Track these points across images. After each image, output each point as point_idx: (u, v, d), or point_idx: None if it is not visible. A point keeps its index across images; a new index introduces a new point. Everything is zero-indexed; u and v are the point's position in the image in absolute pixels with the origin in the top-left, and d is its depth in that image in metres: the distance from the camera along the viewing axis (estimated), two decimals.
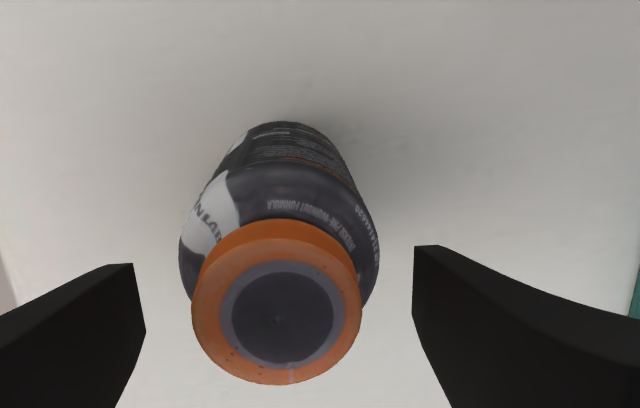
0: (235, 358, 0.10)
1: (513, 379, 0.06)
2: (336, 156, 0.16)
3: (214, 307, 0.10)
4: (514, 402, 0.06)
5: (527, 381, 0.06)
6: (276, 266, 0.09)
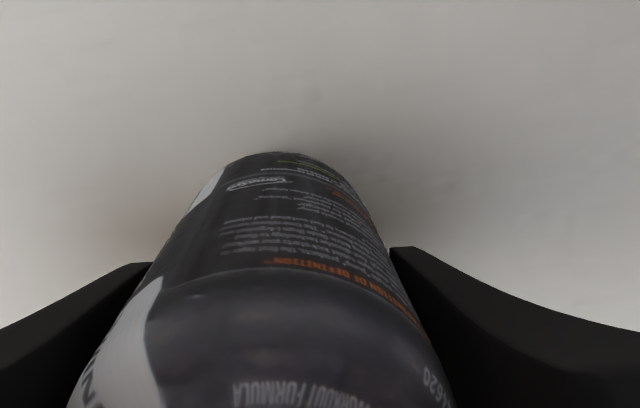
0: None
1: (472, 382, 0.06)
2: (362, 218, 0.10)
3: None
4: (473, 405, 0.06)
5: (483, 385, 0.06)
6: None
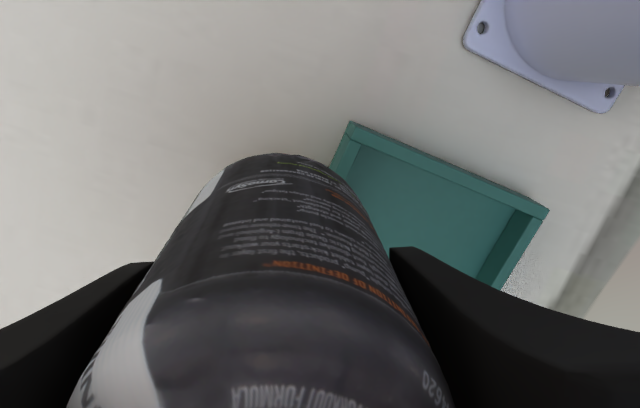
0: None
1: (472, 382, 0.06)
2: (361, 220, 0.10)
3: None
4: (472, 405, 0.06)
5: (483, 385, 0.06)
6: None
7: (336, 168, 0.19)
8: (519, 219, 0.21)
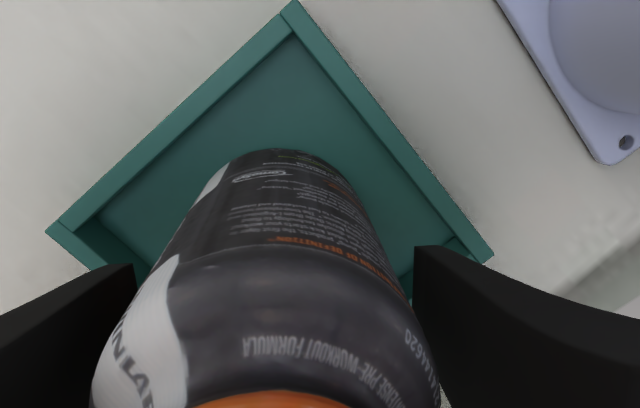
0: None
1: (513, 379, 0.06)
2: (356, 208, 0.11)
3: None
4: (514, 402, 0.06)
5: (527, 381, 0.06)
6: None
7: (240, 49, 0.12)
8: None
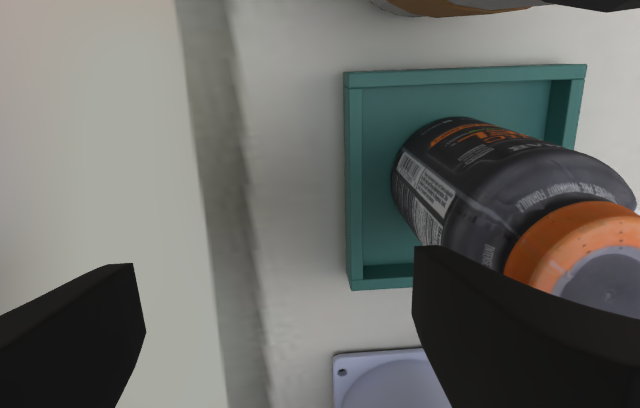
0: (614, 239, 0.10)
1: (513, 379, 0.06)
2: None
3: None
4: (514, 402, 0.06)
5: (527, 381, 0.06)
6: None
7: None
8: None
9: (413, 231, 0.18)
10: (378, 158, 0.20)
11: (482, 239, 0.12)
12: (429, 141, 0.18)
